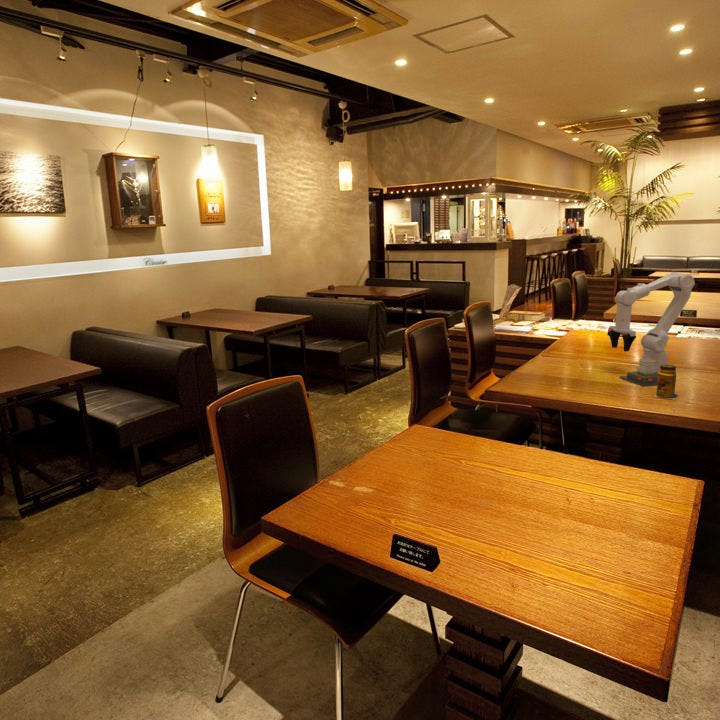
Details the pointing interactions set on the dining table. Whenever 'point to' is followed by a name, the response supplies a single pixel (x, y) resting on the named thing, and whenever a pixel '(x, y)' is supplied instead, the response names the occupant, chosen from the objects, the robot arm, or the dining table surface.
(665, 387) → the condiment
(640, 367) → the column
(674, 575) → the dining table surface
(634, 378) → the housing
